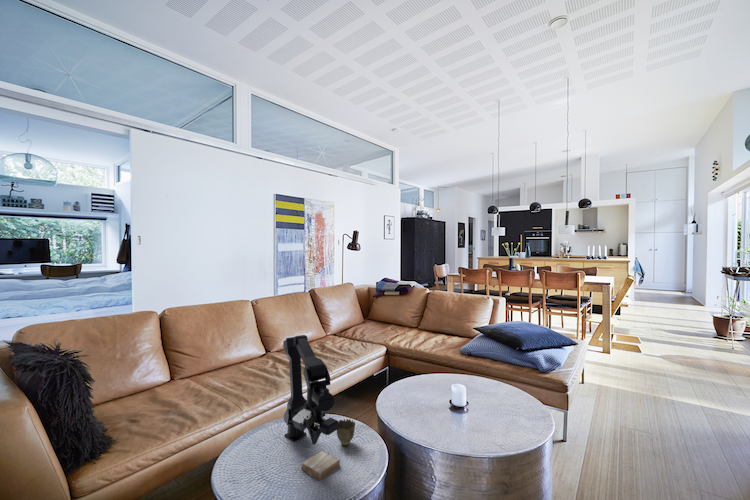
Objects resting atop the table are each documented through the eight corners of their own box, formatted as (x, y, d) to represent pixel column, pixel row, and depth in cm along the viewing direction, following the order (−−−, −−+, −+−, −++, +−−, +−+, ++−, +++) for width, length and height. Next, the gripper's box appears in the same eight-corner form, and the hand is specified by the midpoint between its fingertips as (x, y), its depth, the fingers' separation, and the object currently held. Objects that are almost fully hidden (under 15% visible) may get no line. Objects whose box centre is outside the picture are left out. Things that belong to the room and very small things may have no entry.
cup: (351, 450, 124) (352, 429, 124) (333, 448, 125) (333, 427, 126) (356, 440, 131) (357, 419, 131) (339, 437, 133) (339, 417, 133)
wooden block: (301, 463, 113) (320, 473, 107) (321, 450, 120) (339, 459, 115) (301, 470, 113) (319, 481, 107) (321, 457, 120) (339, 467, 115)
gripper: (279, 400, 115) (278, 445, 115) (316, 416, 104) (315, 465, 104) (303, 389, 124) (303, 431, 124) (340, 403, 113) (339, 449, 113)
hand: (314, 443), depth 116 cm, fingers closed
